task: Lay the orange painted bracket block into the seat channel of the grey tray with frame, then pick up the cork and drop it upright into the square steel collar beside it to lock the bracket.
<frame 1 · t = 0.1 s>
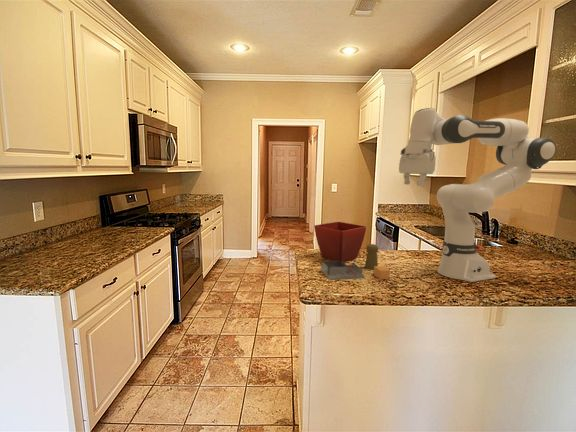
hand: (412, 185, 120), 39 cm above the countertop, tool pointing down, fingers open, 8 cm apart
cork: (371, 268, 137), on the countertop
bracket block: (381, 277, 126), on the countertop
grey tray with frame: (341, 273, 129), on the countertop
plant pot: (338, 258, 153), on the countertop
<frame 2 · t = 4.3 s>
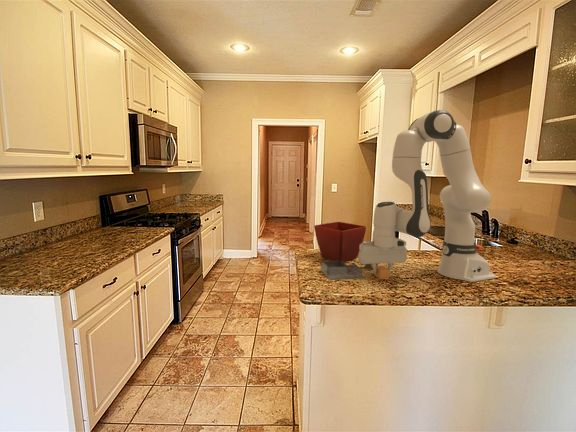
hand: (381, 273, 125), 2 cm above the countertop, tool pointing down, fingers closed on bracket block, 4 cm apart
bracket block: (381, 276, 126), on the countertop, touching gripper
everything else where it was.
when the fingers open (5 cm above the countertop, at t = 8.4 s): bracket block drops 2 cm, resting on grey tray with frame.
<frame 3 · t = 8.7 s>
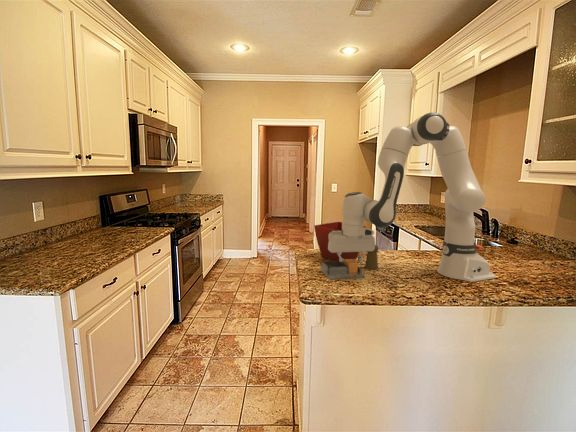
hand: (350, 261, 129), 5 cm above the countertop, tool pointing down, fingers open, 7 cm apart
bracket block: (350, 270, 129), point 1 cm above the countertop, touching grey tray with frame
everything else where it was.
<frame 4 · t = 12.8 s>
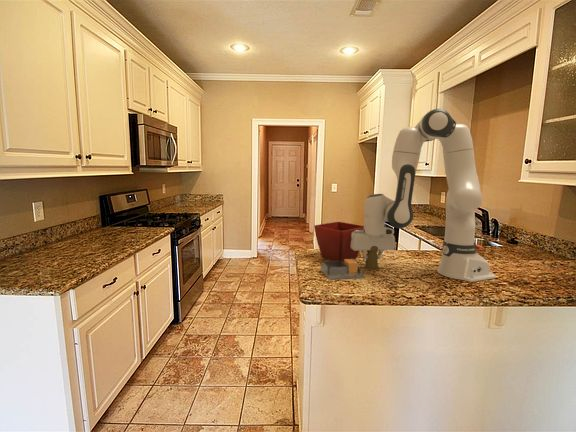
hand: (371, 259, 137), 4 cm above the countertop, tool pointing down, fingers closed on cork, 5 cm apart
cork: (371, 268, 137), on the countertop, touching gripper
everything else where it was.
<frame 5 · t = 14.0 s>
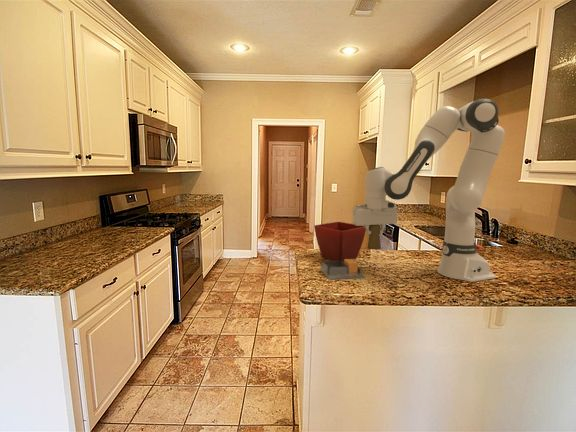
hand: (374, 234, 135), 16 cm above the countertop, tool pointing down, fingers closed on cork, 4 cm apart
cork: (374, 248, 136), point 9 cm above the countertop, touching gripper
everything else where it was.
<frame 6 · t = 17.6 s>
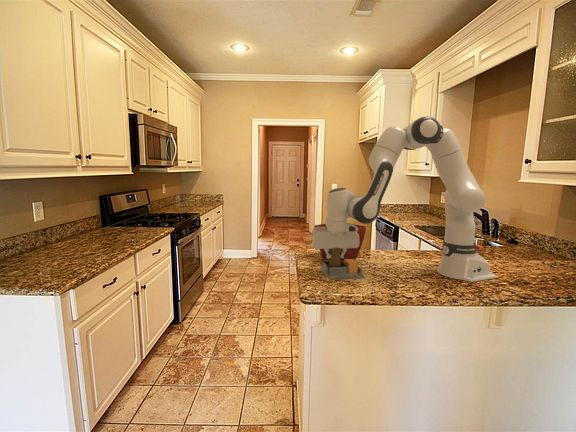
hand: (335, 258, 128), 7 cm above the countertop, tool pointing down, fingers closed on cork, 4 cm apart
cork: (334, 270, 129), point 1 cm above the countertop, touching gripper, grey tray with frame
everything else where it was.
when the fingers open (7 cm above the countertop, at t = 18.1 s): cork stays where it is, resting on grey tray with frame.
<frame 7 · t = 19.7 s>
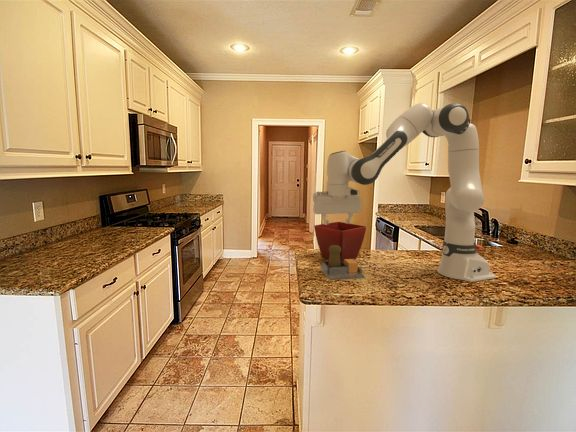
hand: (337, 224, 125), 22 cm above the countertop, tool pointing down, fingers open, 8 cm apart
cork: (334, 270, 129), point 1 cm above the countertop, touching grey tray with frame
everything else where it was.
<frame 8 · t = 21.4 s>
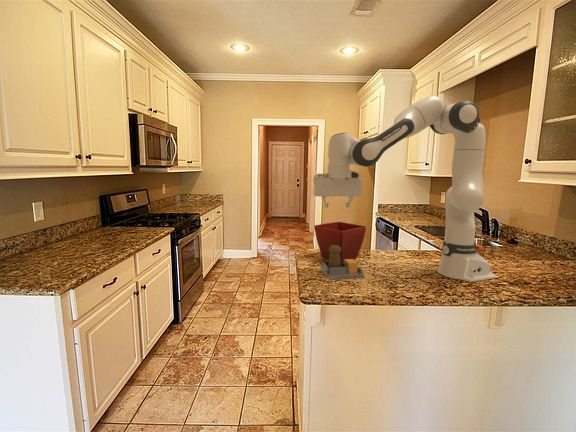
hand: (337, 207, 124), 29 cm above the countertop, tool pointing down, fingers open, 8 cm apart
nothing on the countertop moved.
at the end: bracket block inside the target area on the grey tray with frame (0.1 cm from its centre), point 1.5 cm above the grey tray with frame's base; cork 0.3 cm from the target spot on the grey tray with frame, point 1.3 cm above the grey tray with frame's base; cork tilted 0° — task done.
